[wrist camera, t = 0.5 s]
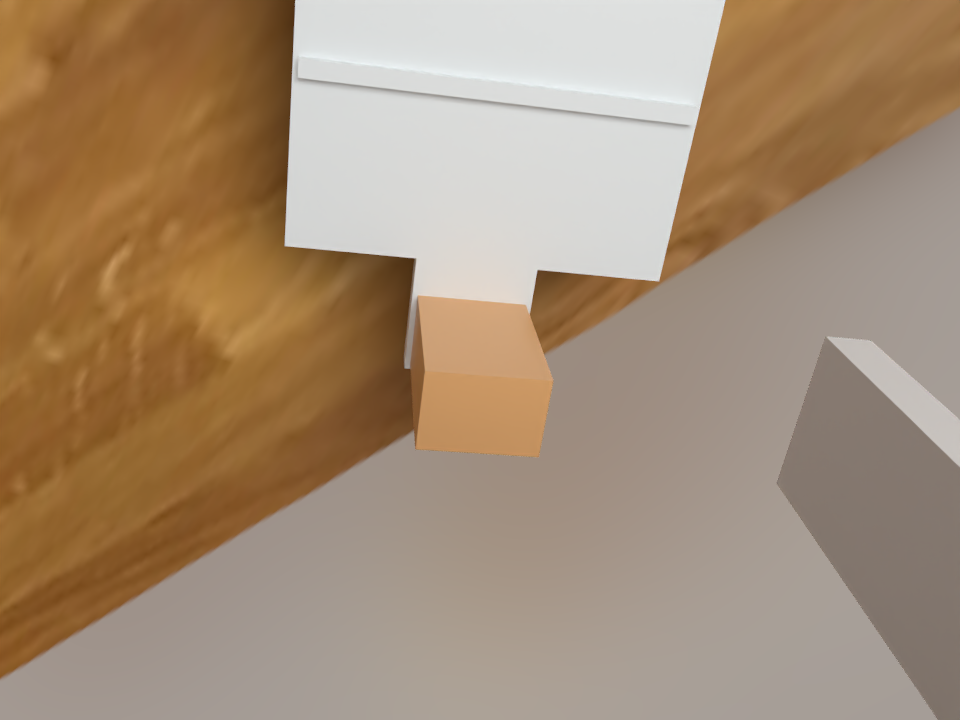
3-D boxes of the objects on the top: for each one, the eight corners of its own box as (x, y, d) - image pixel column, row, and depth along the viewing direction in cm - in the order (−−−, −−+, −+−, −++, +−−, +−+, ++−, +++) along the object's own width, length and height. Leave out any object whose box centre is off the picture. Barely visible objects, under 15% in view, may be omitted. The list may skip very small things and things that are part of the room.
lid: (282, 347, 34) (260, 444, 28) (316, -421, 24) (294, -531, 18) (628, 373, 36) (678, 471, 30) (790, -326, 26) (915, -397, 20)
